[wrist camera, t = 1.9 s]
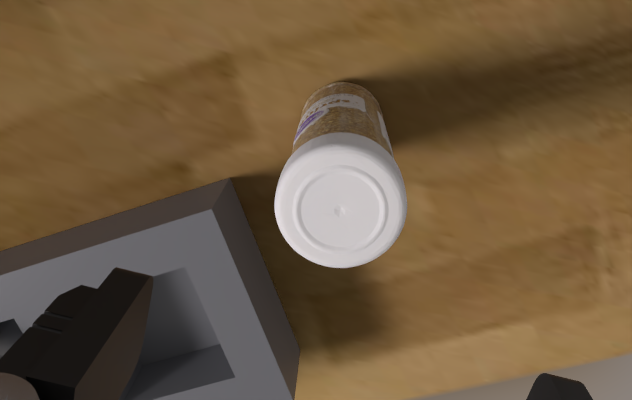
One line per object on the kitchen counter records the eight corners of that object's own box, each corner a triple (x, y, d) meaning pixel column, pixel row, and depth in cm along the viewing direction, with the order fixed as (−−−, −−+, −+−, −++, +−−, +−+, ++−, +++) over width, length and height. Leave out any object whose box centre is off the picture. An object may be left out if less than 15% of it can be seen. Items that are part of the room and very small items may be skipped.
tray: (-97, 282, 37) (-208, 358, 30) (229, 177, 34) (197, 233, 26) (-3, 431, 41) (-81, 532, 33) (300, 350, 38) (289, 441, 30)
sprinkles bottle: (325, 64, 32) (313, 119, 19) (399, 106, 32) (435, 186, 20) (285, 139, 33) (249, 235, 20) (357, 177, 34) (365, 294, 21)
